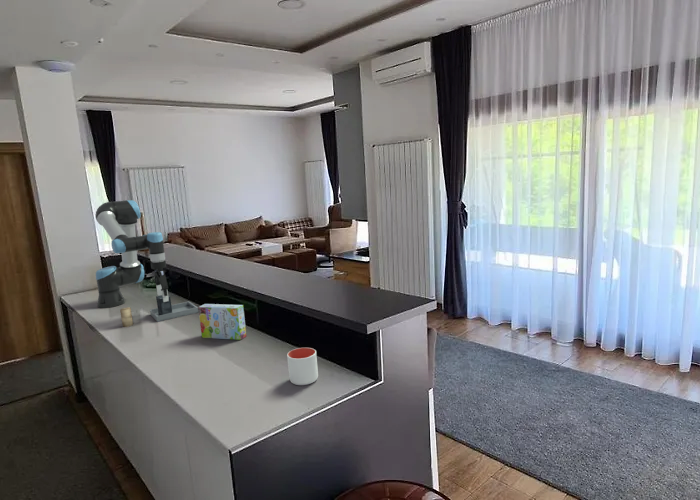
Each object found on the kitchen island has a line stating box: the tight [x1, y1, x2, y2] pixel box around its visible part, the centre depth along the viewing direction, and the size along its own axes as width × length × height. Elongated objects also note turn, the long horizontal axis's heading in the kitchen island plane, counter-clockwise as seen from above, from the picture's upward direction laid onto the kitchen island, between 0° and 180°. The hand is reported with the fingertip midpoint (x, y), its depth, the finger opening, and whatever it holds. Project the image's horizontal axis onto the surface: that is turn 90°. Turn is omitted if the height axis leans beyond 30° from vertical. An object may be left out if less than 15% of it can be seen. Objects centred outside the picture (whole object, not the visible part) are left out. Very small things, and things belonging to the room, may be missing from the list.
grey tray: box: [149, 301, 199, 323], centre depth 249 cm, size 18×22×3 cm
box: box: [155, 295, 172, 315], centre depth 245 cm, size 8×6×11 cm
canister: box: [119, 306, 134, 328], centre depth 233 cm, size 5×5×9 cm
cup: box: [286, 347, 319, 386], centre depth 155 cm, size 10×10×10 cm
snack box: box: [197, 303, 247, 341], centre depth 204 cm, size 21×6×15 cm, turn 71°
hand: (163, 298), depth 245 cm, fingers open, 13 cm apart
